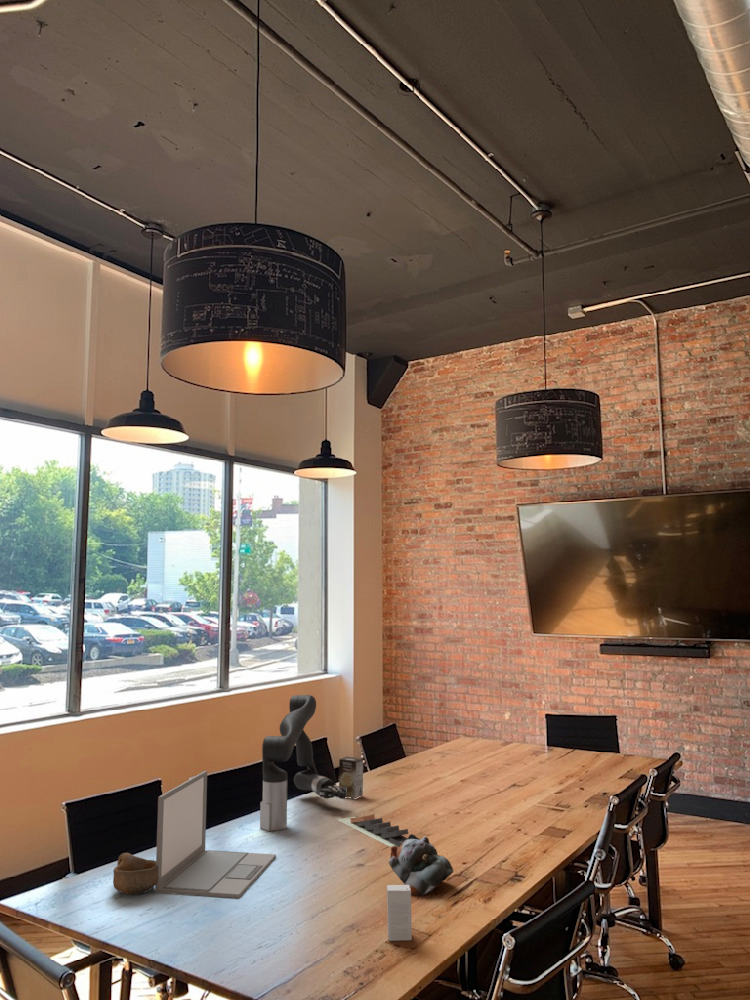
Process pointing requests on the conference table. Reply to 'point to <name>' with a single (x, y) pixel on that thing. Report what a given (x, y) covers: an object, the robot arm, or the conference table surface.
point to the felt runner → (366, 831)
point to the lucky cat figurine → (419, 865)
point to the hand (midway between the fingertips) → (343, 796)
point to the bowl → (134, 874)
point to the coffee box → (351, 776)
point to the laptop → (198, 848)
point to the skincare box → (399, 912)
